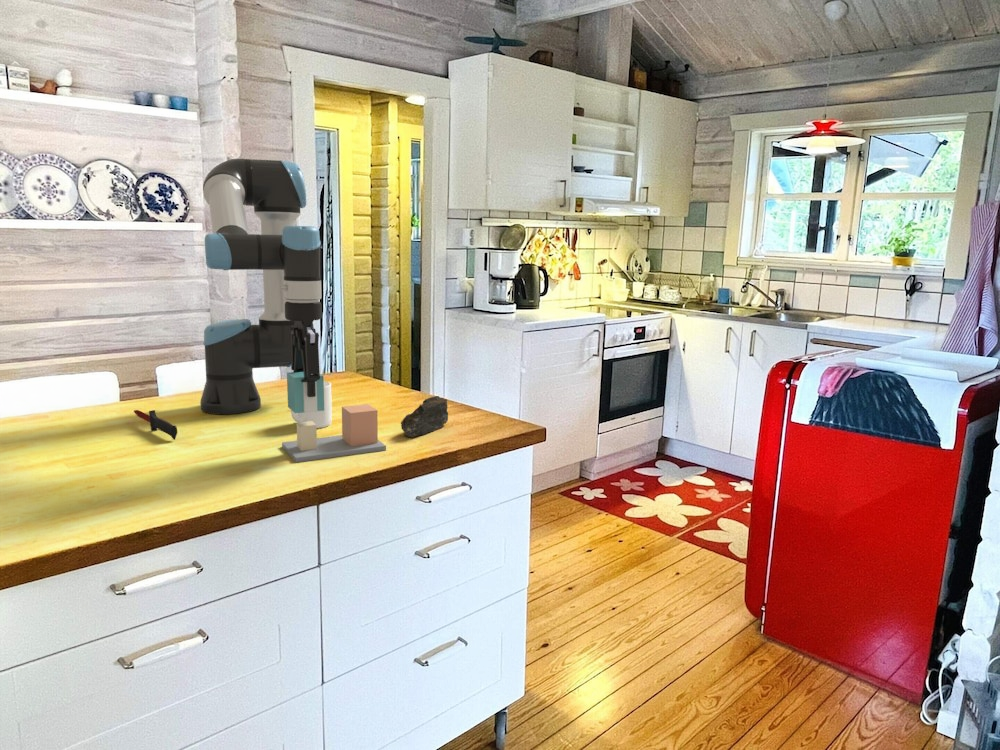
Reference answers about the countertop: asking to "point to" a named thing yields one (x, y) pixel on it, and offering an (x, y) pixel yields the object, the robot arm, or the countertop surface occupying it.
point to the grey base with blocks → (354, 438)
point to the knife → (158, 423)
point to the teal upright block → (297, 392)
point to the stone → (426, 417)
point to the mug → (318, 417)
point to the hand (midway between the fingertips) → (306, 407)
